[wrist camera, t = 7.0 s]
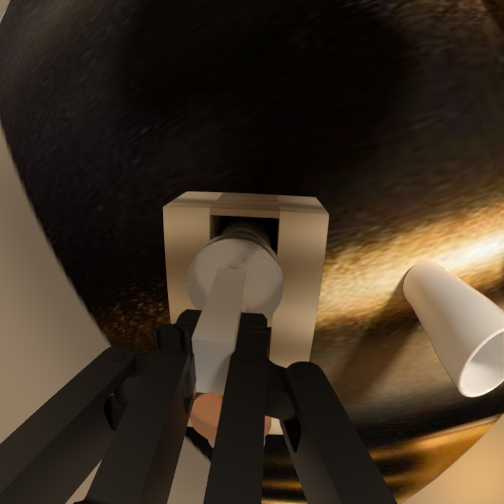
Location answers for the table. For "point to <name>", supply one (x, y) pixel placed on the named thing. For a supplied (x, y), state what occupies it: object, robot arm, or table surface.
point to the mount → (286, 249)
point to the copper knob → (211, 415)
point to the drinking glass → (458, 327)
